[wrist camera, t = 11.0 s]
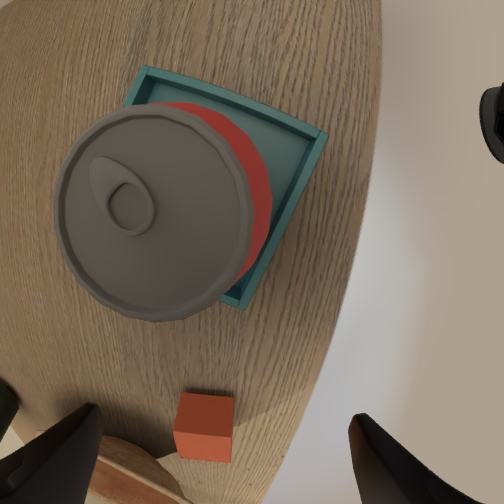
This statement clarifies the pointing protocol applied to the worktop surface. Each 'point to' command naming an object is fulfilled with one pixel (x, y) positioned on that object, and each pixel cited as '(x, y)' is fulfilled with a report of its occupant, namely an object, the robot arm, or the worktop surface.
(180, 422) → the terracotta block
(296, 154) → the tray
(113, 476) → the bowl
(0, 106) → the worktop surface
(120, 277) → the beer can
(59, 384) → the worktop surface
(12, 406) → the potion bottle
